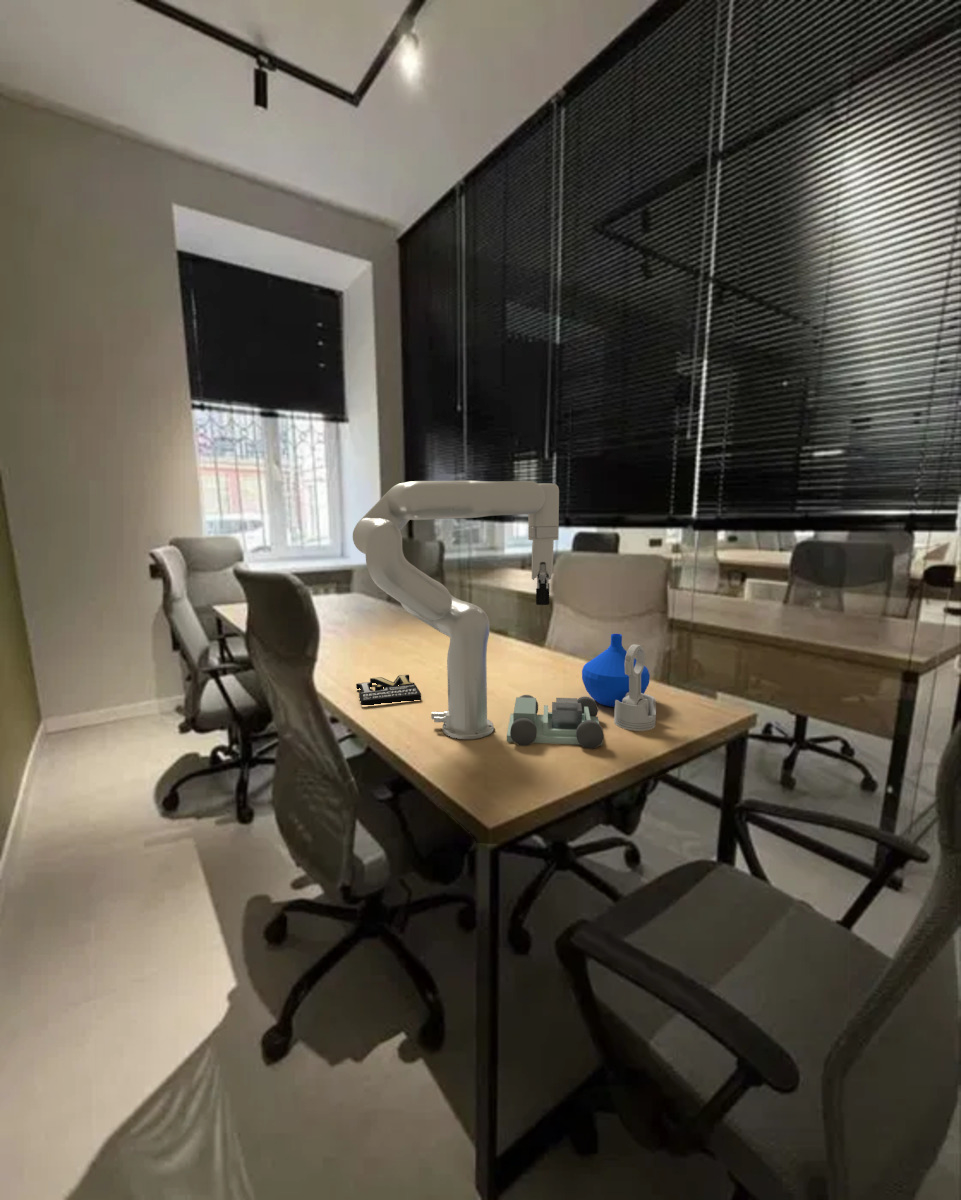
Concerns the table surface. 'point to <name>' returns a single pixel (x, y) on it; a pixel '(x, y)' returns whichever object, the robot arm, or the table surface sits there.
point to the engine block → (566, 713)
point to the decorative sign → (388, 691)
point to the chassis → (539, 727)
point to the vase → (610, 674)
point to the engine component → (635, 696)
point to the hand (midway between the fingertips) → (542, 601)
